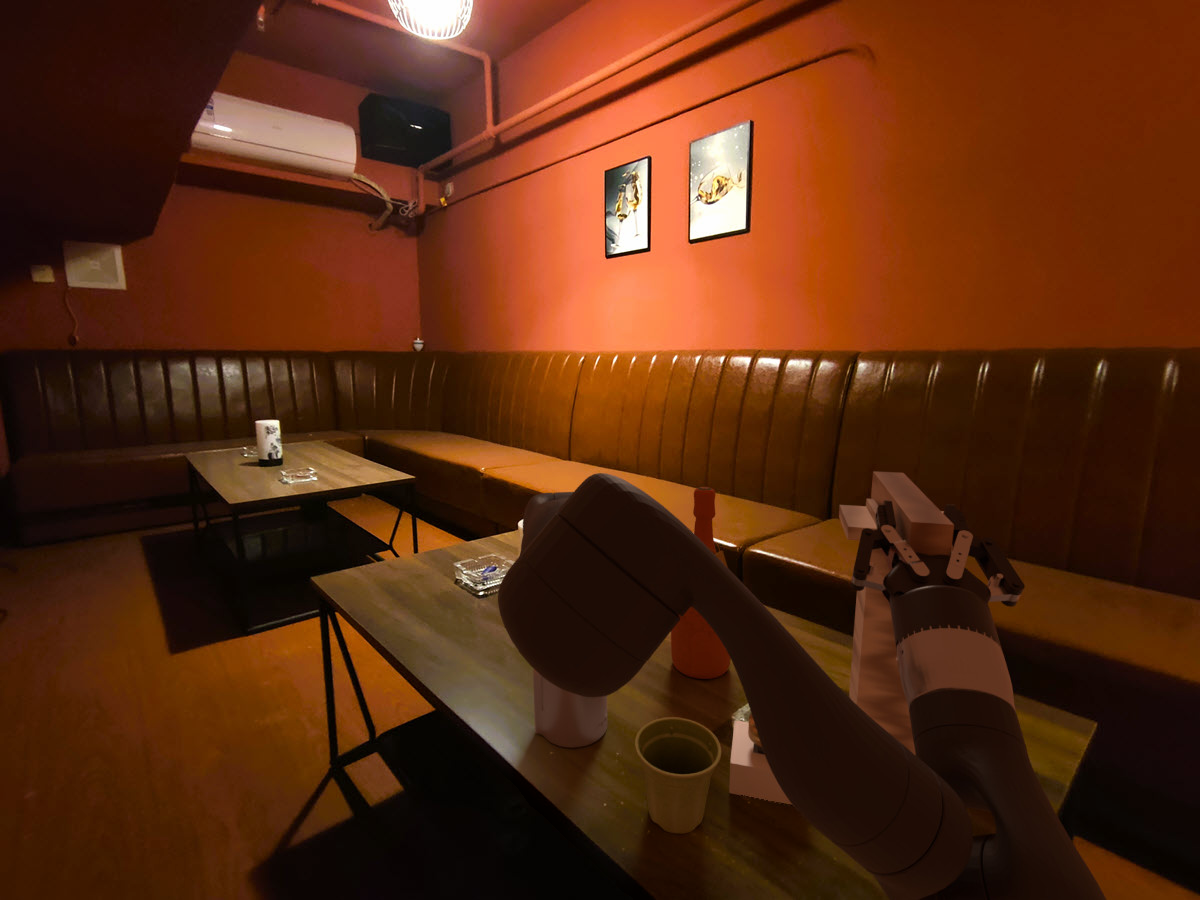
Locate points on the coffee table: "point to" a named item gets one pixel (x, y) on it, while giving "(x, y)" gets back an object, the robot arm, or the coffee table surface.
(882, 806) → the robot arm
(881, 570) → the birch stand
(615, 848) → the coffee table surface
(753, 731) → the brass button
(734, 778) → the button housing
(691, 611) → the wine bottle
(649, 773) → the plant pot
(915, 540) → the wooden beam
